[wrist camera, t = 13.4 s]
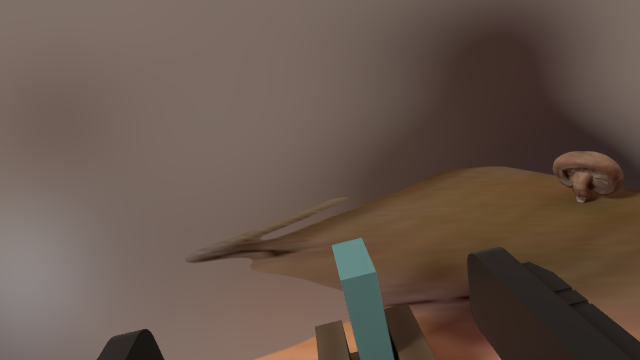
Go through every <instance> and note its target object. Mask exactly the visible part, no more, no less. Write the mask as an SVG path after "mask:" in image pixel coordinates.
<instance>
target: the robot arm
mask: <svg viewBox="0 0 640 360" xmlns="http://www.w3.org/2000/svg"><path fill="white" fill-rule="evenodd" d="M467 266H468V280H469V295H470V306H471V310H472V314H473V317H474V319H475V321H476V323H477V325H478V327H479V329H480V330H481V332H482V333H483V335H484V336H485V337H486V339H487V340H488V342H489V343H490V344H491V346H492V347H493V348H494V350H495V351H496V353H497V354H498V355H499V357H500V358H501V360H640V342H639V341H638V340H637V339H636V338H634V337H633V336H632V335H631V334H629V333H628V332H627V331H626V330H624V329H623V328H622V327H621V326H619V325H618V324H617V323H616V322H614V321H613V320H612V319H611V318H609V317H608V316H607V315H606V314H604V313H603V312H602V311H601V310H599V309H598V308H597V307H596V306H594V305H593V304H589V303H588V300H587V299H586V298H584V297H583V296H582V295H581V294H579V293H578V292H577V291H576V290H575V291H573V290H572V287H571V286H569V285H568V284H567V283H566V282H564V281H563V280H562V279H561V278H559V277H558V276H557V275H556V274H554V273H553V272H551V271H549V270H546V269H544V268H542V267H539V266H537V265H535V264H533V263H530V262H527V263H523V264H521V263H520V262H519V261H518V260H516V259H515V258H514V257H513V256H512V255H511V254H509V253H508V252H507V251H506V250H505V249H503V248H502V247H496V248H492V249H488V250H483V251H479V252H475V253H471V254H469V255H468V258H467ZM97 360H164V358H163V356H162V354H161V352H160V349H159V347H158V345H157V343H156V341H155V339H154V336H153V335H152V333H151V332H150V331H149V330H147V329H143V330H139V331H135V332H130V333H126V334H122V335H117V336H114V337H112V338H111V339H110V340H109V341H108V342H107V344H106V346H105V347H104V349H103V351H102V352H101V354H100V356H99V357H98V359H97Z"/></svg>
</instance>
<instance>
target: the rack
mask: <svg viewBox="0 0 640 360" xmlns="http://www.w3.org/2000/svg"><path fill="white" fill-rule="evenodd" d="M384 313H385V318H386V323H387V327H388V332H389V337H390V342H391V347H392V352H393V356H394V360H436V359H435V357H434V355H433V353H432V351H431V349H430V347H429V345H428V343H427V341H426V339H425V337H424V335H423V333H422V331H421V329H420V327H419V325H418V323H417V321H416V319H415V317H414V315H413V313H412V311H411V309H410V307H409V305H408V303H407V304H403V305H399V306H395V307H391V308H387V309H384ZM315 330H316V340H317V349H318V359H319V360H360V357H359V353H358V352H354V353H350V352H349V348H348V344H347V340H346V336H345V332H344V328H343V325H342V321H341V320H340V321H336V322H332V323H328V324H324V325H320V326H316V327H315Z"/></svg>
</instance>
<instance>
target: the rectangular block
mask: <svg viewBox="0 0 640 360" xmlns="http://www.w3.org/2000/svg"><path fill="white" fill-rule="evenodd" d="M332 248H333V252H334V256H335V260H336V264H337V268H338V272H339V276H340V280H341V284H342V288H343V292H344V296H345V301H346V305H347V309H348V313H349V316H350V321H351V325H352V329H353V333H354V337H355V341H356V345H357V349H358V353H359V357H360V360H394V356H393V352H392V347H391V342H390V337H389V332H388V327H387V323H386V318H385V313H384V308H383V303H382V298H381V294H380V289H379V284H378V279H377V274H376V271H375V268H374V266H373V264H372V261H371V259H370V257H369V254H368V252H367V250H366V247H365V245H364V243H363V240H362V238H359V239H355V240H351V241H347V242H343V243H339V244H335V245H332Z"/></svg>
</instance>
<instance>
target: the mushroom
mask: <svg viewBox="0 0 640 360" xmlns="http://www.w3.org/2000/svg"><path fill="white" fill-rule="evenodd" d="M553 171H554V173H555V175H556V176H557V177H558V178H559V181H560V182H561V183H562V184H563V185H565V186H567V187H569V188H573V187H574V188H573V189H574V191H575V195H576V198H577V201H578V202H581V203H584V202H585V200H588V199H589V198H590V197H591V191H590V190H591V189H592V190H593V191H595V192H597V193H599V194H604V195H607V194H611V193H613V192H615V191H617V190H618V189H619V188H620V187H621V185H622V183H623V173H622V171H621V168H620V167H619V166H618V165H617V163H616V162H615V161H614V160H612V159H611V158H609V157H608V156H605V155H604V154H600V153H597V152H569V153H566V154H563V155H561V156H559V157H558V158H557V159H556V160H555V162H554V164H553Z"/></svg>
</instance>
